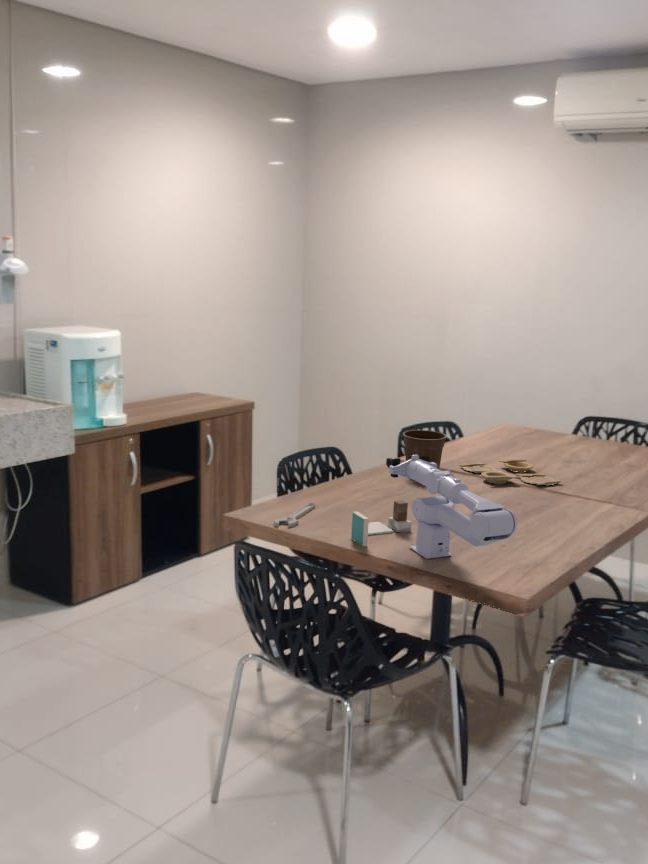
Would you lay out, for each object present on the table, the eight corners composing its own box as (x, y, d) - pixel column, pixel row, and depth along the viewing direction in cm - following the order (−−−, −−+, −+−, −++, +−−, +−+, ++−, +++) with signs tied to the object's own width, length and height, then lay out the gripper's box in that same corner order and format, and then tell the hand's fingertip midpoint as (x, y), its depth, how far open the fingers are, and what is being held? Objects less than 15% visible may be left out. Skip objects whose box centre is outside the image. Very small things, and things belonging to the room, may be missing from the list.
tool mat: (393, 532, 247) (393, 530, 247) (366, 535, 243) (366, 533, 243) (378, 523, 255) (378, 521, 255) (352, 526, 251) (352, 524, 251)
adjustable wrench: (309, 507, 271) (309, 501, 271) (326, 510, 268) (327, 504, 268) (271, 526, 249) (271, 520, 249) (290, 530, 246) (290, 524, 246)
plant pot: (438, 484, 304) (441, 440, 301) (395, 478, 309) (398, 435, 306) (447, 474, 319) (450, 432, 316) (406, 469, 324) (409, 428, 321)
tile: (367, 545, 234) (368, 518, 233) (362, 546, 234) (363, 519, 232) (356, 538, 241) (357, 511, 239) (351, 538, 240) (352, 511, 238)
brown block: (410, 531, 249) (412, 503, 247) (397, 532, 247) (399, 505, 245) (400, 525, 254) (402, 498, 252) (387, 526, 252) (389, 499, 251)
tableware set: (566, 488, 307) (567, 477, 306) (492, 490, 300) (493, 479, 299) (522, 465, 340) (523, 455, 339) (454, 466, 333) (455, 456, 332)
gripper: (446, 457, 235) (421, 446, 247) (401, 460, 229) (377, 448, 241) (444, 481, 237) (419, 469, 249) (399, 485, 231) (376, 472, 243)
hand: (398, 460), depth 245 cm, fingers open, 7 cm apart
